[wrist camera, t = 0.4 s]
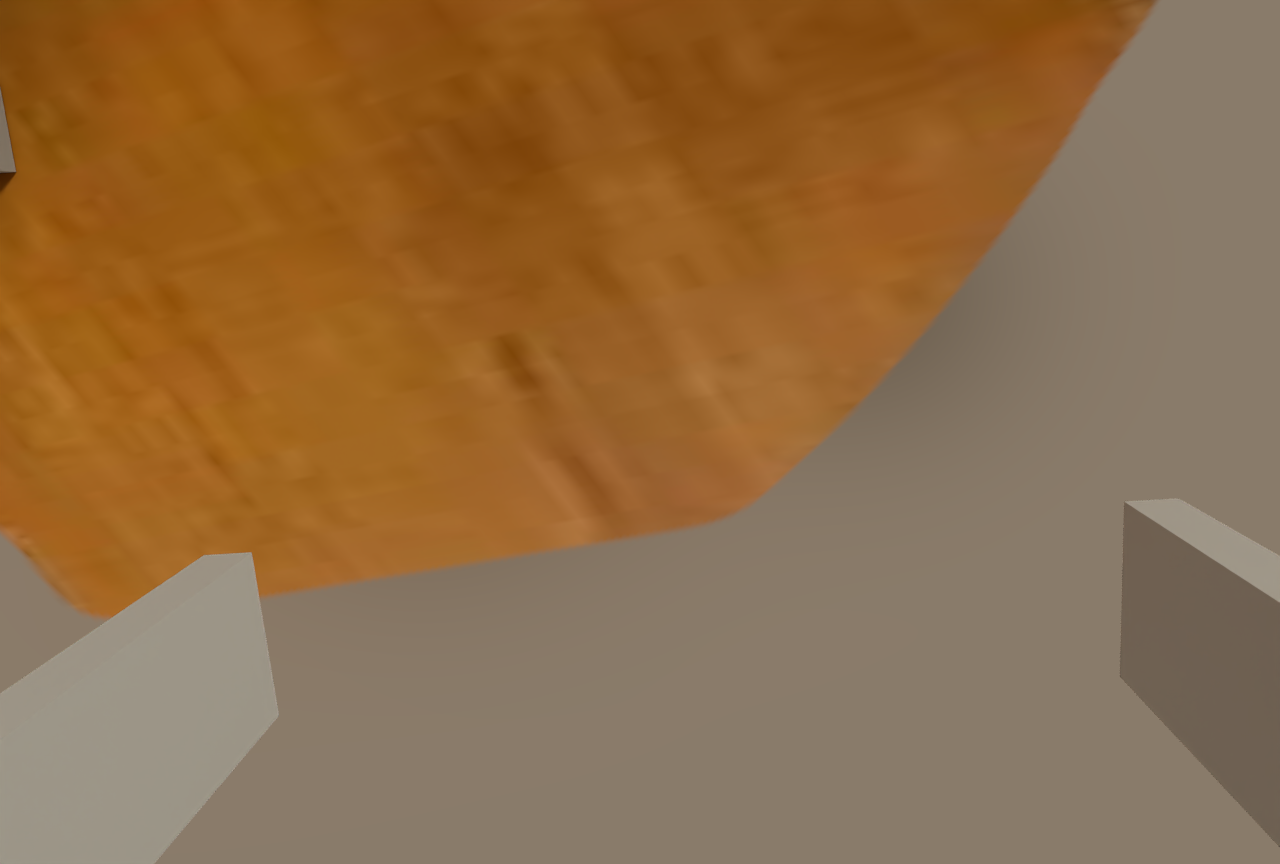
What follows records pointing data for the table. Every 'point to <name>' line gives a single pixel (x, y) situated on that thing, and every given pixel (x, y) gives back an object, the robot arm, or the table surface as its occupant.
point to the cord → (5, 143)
